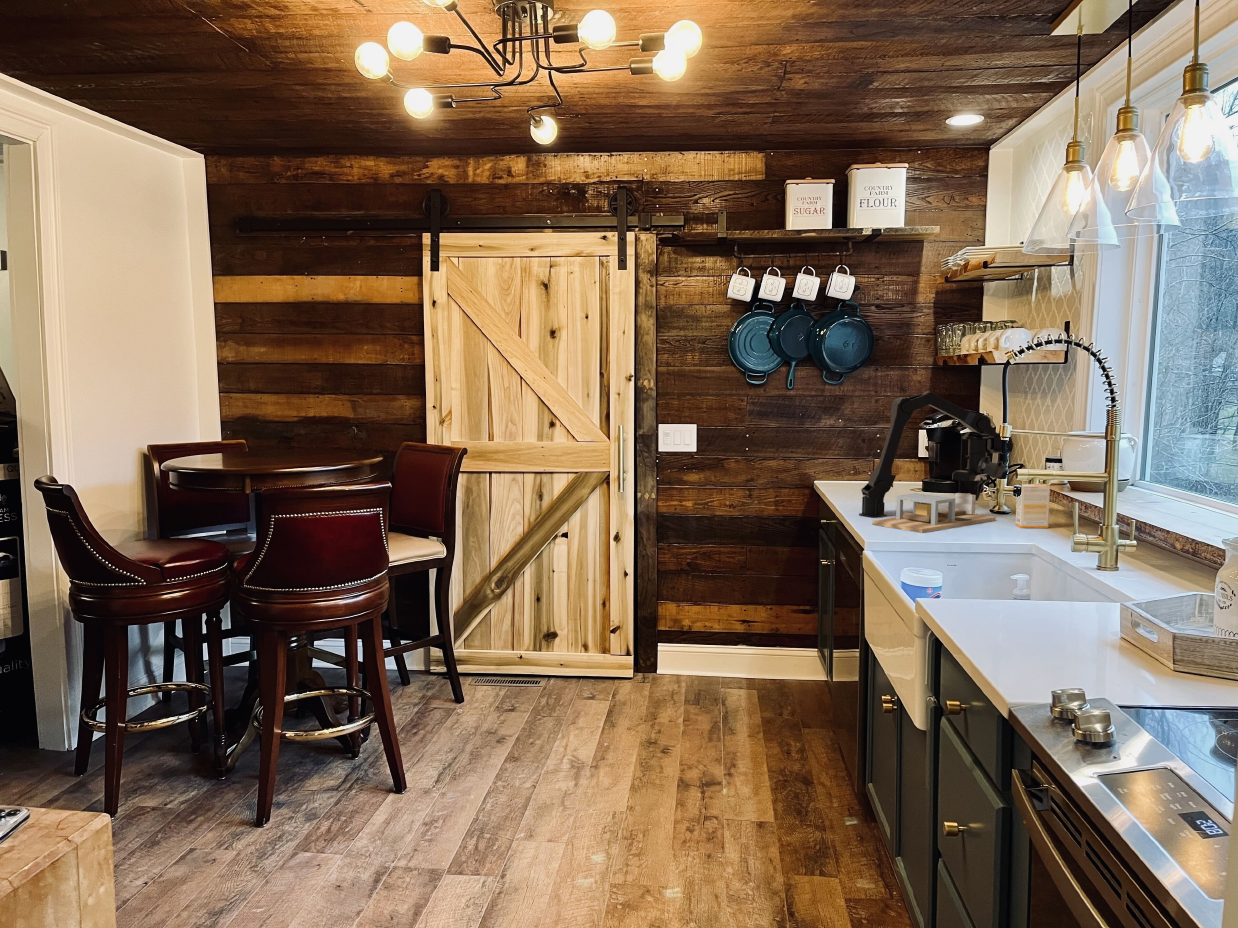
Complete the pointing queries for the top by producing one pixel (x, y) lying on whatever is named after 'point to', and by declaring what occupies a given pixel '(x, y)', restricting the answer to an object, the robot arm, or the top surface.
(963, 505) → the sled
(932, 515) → the grey small table
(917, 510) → the ochre block
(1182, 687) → the top surface
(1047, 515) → the supplement box
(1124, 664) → the top surface
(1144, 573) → the top surface
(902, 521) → the base board
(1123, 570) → the top surface
